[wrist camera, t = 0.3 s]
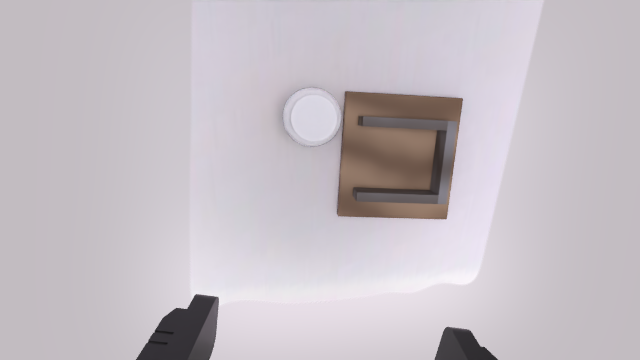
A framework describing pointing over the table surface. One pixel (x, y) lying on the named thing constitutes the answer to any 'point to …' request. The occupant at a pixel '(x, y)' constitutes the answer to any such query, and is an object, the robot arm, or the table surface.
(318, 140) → the supplement bottle
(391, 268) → the table surface
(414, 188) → the u holder
